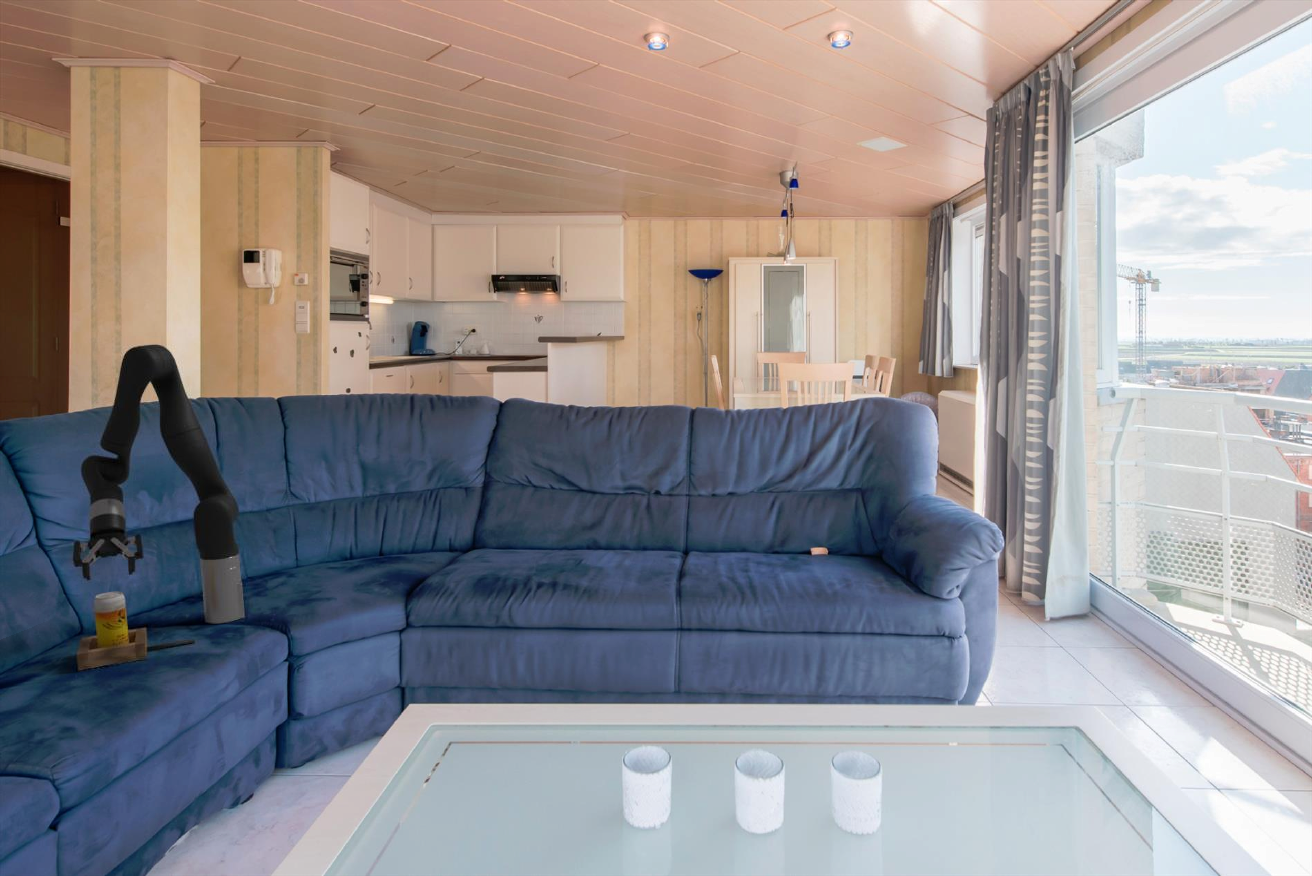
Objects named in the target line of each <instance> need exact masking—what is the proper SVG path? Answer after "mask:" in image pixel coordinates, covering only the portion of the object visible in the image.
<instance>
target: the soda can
mask: <svg viewBox="0 0 1312 876" xmlns="http://www.w3.org/2000/svg"><path fill="white" fill-rule="evenodd" d="M93 607H94V608H93V610H94V617H95V618H94V619H95V629H96V636H97V642H98V648H104V647H110V646H116V645H122V644H128V643H129V637H128V630H129V628H128V617H127V616H128V615H127V606H126V597H125V595H124V594H123V592H122V591H108V592H104V593H100V594H97V595H95V598H94V600H93Z"/></svg>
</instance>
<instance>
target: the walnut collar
mask: <svg viewBox="0 0 1312 876" xmlns="http://www.w3.org/2000/svg"><path fill="white" fill-rule="evenodd" d="M128 637H129V643H128V644H122V645H116V646H110V647H104V648H98V642H97V635H90V636H86V637H85V636H84V637H81V640H80V643H79V645H78V650H77V651H76V652H77V653H76V661H77V669H78V670H84V669H88V668H95V667H99V666H103V665H110V664H114V663H123V662H128V661H135V660H139V659H146V656H148V655H147V654H148V652H149V651H148V650H151V651H155V650H154V649H157V650H160V649H159V648H163V649H167V648H166V647H168V648H171V647H170V646H173V645H180V646H182V645H181V644H186V645H188V644H187V643H191V644H195V643H196V642H195V641H196V640H195V638H192V639H185V640H179V641H175V642H173V641H172V642H168V643H163V644H158V645H157V644H156V645H151V646H148V635H147V627H141V628H140V627H139V628H134V629H128ZM146 660H147V659H146ZM78 670H77V671H78Z"/></svg>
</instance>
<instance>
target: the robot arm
mask: <svg viewBox="0 0 1312 876" xmlns="http://www.w3.org/2000/svg"><path fill="white" fill-rule="evenodd" d="M149 384H151V386H152V387H153V390H154V392H155V394H156V396H157V399H158V404H159V432H160V435H161V437H162V440H163V442H164V445H165V446H166V447H165V448H166V449H167V451H168V453H169V455H170V457H171V458H172V460H173V462H174V463H175V464H176V466H177V467H179V469H180V470H181V471H182V472H183V473H184V474H185V476H187V478H188V479H189V481H190V483H191V484H192V486H193V488H194V490H195V492H196V496H197V498H198V501H199V503H198V504H197V505H196V506H195V508H194V511H193V528H194V529H193V530H194V531H193V532H194V538H195V545H196V549H197V551H198V553H199V560H200V561H199V562H200V571H201V572H200V574H201V585H202V597H203V598H202V599H203V610H204V613H203V614H204V622H205V623H208V624H224V623H230V622H233V621H237V620H239V619H240V620H241V619H245V618H246V617H245V606H244V593H243V582H242V576H241V575H242V573H241V563H240V548H239V544H238V542H237V541H236V539H235V535H234V534H235V533H234V525H233V524H234V523H235V522H236V521H237V519H238V517H239V506H238V502H237V500H236V498H235V496H234V495H233V494H232V492H231V490H230V489H229V487H228V485H227V483H226V482H225V480H224V478H223V477H222V475H221V472H220V470H219V469H220V468H218V465H217V462H216V459H215V457H214V454H213V452H212V450H211V447H210V445H209V442H208V439H207V438H206V434H205V432H204V430H203V428H202V426H201V424H200V422H199V419H198V418H197V416H196V414H195V411H194V408H193V406H192V403H191V401H190V400H189V397H188V394H187V392H186V390H185V387H184V384H183V381H182V377H181V373H180V371H179V367H178V365H177V361H176V359H175V357H174V355H173V354H172V352H171V351H170V350H169V349H168V348H167V347H165V346H163V345H162V344H144V345H138V346H134V347H131V348H129V349H128V350H127V351H126V352H125V353H124V355H123V357H122V360H121V365H120V370H119V375H118V381H117V386H116V391H115V396H114V402H113V404H112V408H111V412H110V415H109V418H108V420H107V423H106V425H105V428H104V431H103V433H102V436H101V438H100V442H99V445H100V447H101V448H102V449H103V450H104V451H106V452H108V453H111V454H113V455H116V456H117V457H110V456H105V455H95V454H93V455H89V456H87V457H85V459H84V460H83V461H82V463H81V467H80V474H81V477H82V480H83V483H84V484H85V486H86V488H87V491H88V494H89V502H90V503H89V504H90V509H89V517H88V518H89V540H88V541H87V542H81V541H79V540H76V541H74V543H73V551H72V562H73V563H72V564H73V567H75V568H79V567H81V569H82V570H81V571H82V578H83V579H85V580H86V581H91V565H93V563H96V561H97V560H99V558H104V559H105V558H109V557H117V556H118V555H119V556H121V557H122V558H123V559H126V560H127V567H128V574H129V575H133V573H135V572H136V570H137V568H136V561H137V560H142V559H144V557H145V556H144V549H143V544H142V537H141V534H139V533H137V534H135V535H134V536H131V537H130V536H129V537H128V536H127V527H126V523H127V522H126V521H127V519H126V518H127V517H126V511H125V506H124V492H123V488H121V485H122V484H124V483H125V482H126V481H128V479H129V476H130V470H131V469H130V462H131V460H130V459H131V452H132V447H133V445H134V443H135V441H136V440H135V439H136V438H137V435H138V432H139V429H140V425H141V401H142V397H143V394H144V393H145V391H146V389H147V387H148V385H149ZM129 543H130V544H132V546H134V547H136V551H135V552H133V551H131V550H130V549H129V547H128V545H129ZM86 549H89V551H88V552H87V555H86V556H85V557H83V558H81V557H82V553H84V552H85V551H86Z"/></svg>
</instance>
